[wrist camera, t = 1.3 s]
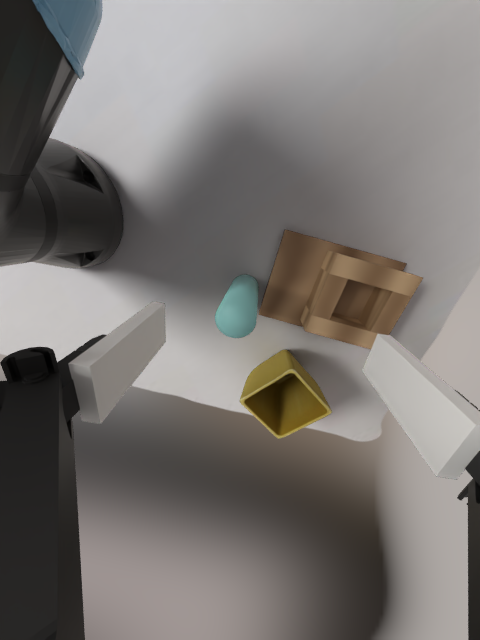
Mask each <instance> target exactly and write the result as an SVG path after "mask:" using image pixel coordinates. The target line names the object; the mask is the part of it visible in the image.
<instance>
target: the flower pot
mask: <svg viewBox="0 0 480 640" xmlns="http://www.w3.org/2000/svg"><path fill="white" fill-rule="evenodd" d="M287 374H288V375H287ZM240 403H241V404H242V405H243V406H244V407H245V408H246V409H247V410H248V411H249V412H250V413H251V414H253V415H254V416H255V417H256V418H257V419H258V420H259V421H260V422H261V423H262V424H263V425H264V426H265V427H266V428H267V429H268V430H269V431H270V432H271V433H272V434H273V435H274V436H276V437H277V438H278V439H280V438H283V437H285V436H287V435H290V434H292V433H294V432H296V431H298V430H300V429H302V428H304V427H306V426H308V425H310V424H312V423H314V422H316V421H318V420H320V419H322V418H324V417H326V416H328V415H329V414H331V413H332V411H331V409H330V407H329V405H328V403H327V401H326V399H325V397H324V395H323V393H322V391H321V390H320V388H319V386H318V384H317V383H316V382H315V380H314V379H313V378H312V377H311V376H310V375H309V374H308V373H307V372H306V370H305V369H304V368H303V367H302V366H301V365H300V364H299V363H298V361H297V360H296V359H295V358H294V357H293V356H292V354H291V353H290V352H289V351H288V350H282V351H280V352H278V353H277V354H275V355H274V356H272V357H271V358H269V359H268V360H266V361H265V362H263V363H262V364H260V365H259V366H257V367H256V368H255V369H254V370H253V371H252V372H251V373H250V375H249V376H248V378H247V380H246V383H245V386H244V389H243V392H242V395H241V398H240Z"/></svg>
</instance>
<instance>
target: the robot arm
mask: <svg viewBox="0 0 480 640" xmlns="http://www.w3.org/2000/svg"><path fill="white" fill-rule="evenodd" d="M101 17H102V0H0V266H7V265H14V264H20V263H27V262H36V263H42V264H48V265H53V266H59V267H65V268H84V267H89V266H93V265H97V264H100V263H102V262H104V261H105V260H107V259H108V258H109V257H110V256H111V255H112V254H113V253H114V252H115V250H116V249H117V247H118V245H119V242H120V240H121V236H122V230H123V215H122V209H121V204H120V201H119V198H118V195H117V193H116V190H115V188H114V186H113V184H112V182H111V181H110V179H109V178H108V176H107V175H106V173H105V172H104V171H103V169H102V168H101V167H100V166H99V165H98V164H97V163H96V162H95V161H94V160H93V159H92V158H91V157H89V156H88V155H87V154H85V153H84V152H82V151H81V150H79V149H77V148H75V147H72V146H70V145H68V144H65V143H63V142H61V141H58V140H55V139H52V138H49V136H50V134H51V132H52V130H53V128H54V126H55V124H56V122H57V120H58V118H59V115H60V113H61V111H62V109H63V107H64V105H65V103H66V101H67V99H68V97H69V95H70V93H71V90H72V88H73V86H74V84H75V82H76V80H77V78H79V79H80V80H81V79H82V77H83V76H84V71H83V65H84V63H85V60H86V58H87V55H88V53H89V50H90V48H91V45H92V43H93V40H94V37H95V35H96V32H97V30H98V27H99V25H100V22H101ZM165 342H166V335H165V303H159V302H152V303H150V304H149V305H147V306H146V307H145V308H143V309H142V310H141V311H139V312H138V313H137V314H135V315H134V316H132V317H131V318H130V319H128V320H127V321H126V322H124V323H123V324H122V325H120V326H119V327H117V328H116V329H115V330H113V331H112V332H111V333H109V334H108V335H101V336H98V337H95V338H93V339H91V340H89V341H88V342H87V343H85V344H84V345H83V346H81V347H79V348H78V349H76V351H73V352H72V353H71V354H69V355H68V356H66V357H65V358H63V359H62V360H60V361H59V362H58V363H57V361H56V357H55V353H54V351H53V349H50V348H48V347H34V348H28V349H23V350H20V351H17V352H14V353H12V354H10V355H8V356H7V357H5V358H4V359H3V360H2V361H1V366H2V368H3V371H4V374H5V376H6V378H7V381H0V640H85V635H84V616H83V599H82V598H83V597H82V580H81V561H80V542H79V524H78V506H77V487H76V470H75V453H74V452H75V451H74V432H73V422H72V417H73V416H74V415H75V414H76V413H77V412H78V411H80V415H81V419H82V421H86V422H92V423H99V424H101V423H102V421H103V420H104V419H105V418H106V417H107V415H108V414H109V413H110V412H111V410H112V409H113V408H114V406H115V405H116V404H117V403H118V401H119V400H120V399H121V398H122V396H123V395H124V394H125V393H126V391H127V390H128V389H129V388H130V386H131V385H132V384H133V382H134V381H135V380H136V379H137V377H138V376H139V375H140V374H141V372H142V371H143V370H144V369H145V367H146V366H147V365H148V364H149V362H150V361H151V360H152V358H153V357H154V356H155V355H156V353H157V352H158V351H159V350H160V348H161V347H162V346H163V345H164V343H165ZM362 371H363V373H364V374H365V376H366V377H367V378H368V380H369V381H370V383H371V384H372V386H373V387H374V388H375V390H376V391H377V393H378V394H379V396H380V397H381V399H382V400H383V401H384V403H385V404H386V406H387V407H388V409H389V410H390V411H391V413H392V414H393V416H394V417H395V419H396V420H397V421H398V423H399V424H400V426H401V427H402V428H403V430H404V431H405V433H406V434H407V436H408V437H409V439H410V440H411V441H412V443H413V444H414V446H415V447H416V449H417V450H418V451H419V453H420V454H421V456H422V457H423V458H424V460H425V461H426V463H427V464H428V466H429V467H430V469H431V470H432V471H433V473H434V474H435V476H436V477H443V478H449V479H455V480H457V478H458V477H459V476H460V475H461V474H462V472H463V471H464V470H465V469H466V470H467V471H468V473H469V474H470V475H471V476H472V477H473V479H472V480H471V482H470V483H469V484H468V485H467V486H466V487H465V488H464V489H463V490H462V492H461V493H460V494H459V495H458V497H457V498H458V499H459V500H462V499H463V498H464V497H468V503H467V505H468V612H469V613H468V628H469V629H468V630H469V631H468V633H469V640H480V410H478V408H477V407H476V406H474V405H473V404H472V403H469V401H468V400H467V399H466V398H465V397H464V396H462V395H461V394H460V393H459V392H457V391H456V390H454V389H453V388H451V387H450V386H449V385H448V384H447V383H446V382H444V381H443V380H442V379H441V378H440V377H439V376H437V375H436V374H435V373H434V372H433V371H432V370H430V369H429V368H428V367H427V366H426V365H424V364H423V363H422V362H421V361H420V360H419V359H417V358H416V357H415V356H414V355H413V354H412V353H410V352H409V351H408V350H407V349H406V348H405V347H403V346H402V345H401V344H400V343H399V342H398V341H396V340H395V339H394V338H393V337H392V336H391V335H384V334H377V336H376V339H375V341H374V343H373V346H372V348H371V351H370V353H369V355H368V358H367V360H366V362H365V365H364V367H363V370H362Z"/></svg>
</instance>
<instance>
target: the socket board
mask: <svg viewBox="0 0 480 640" xmlns="http://www.w3.org/2000/svg"><path fill="white" fill-rule="evenodd" d="M405 266H406V263H403V262H399V261H396V260H392V259H389V258H385V257H381V256H378V255H374V254H371V253H367V252H364V251H360V250H357V249H353V248H350V247H346V246H342V245H339V244H335V243H332V242H328V241H325V240H321V239H318V238H314V237H310V236H307V235H303V234H300V233H296V232H293V231H289V230H286V229H285V231H284V234H283V237H282V240H281V243H280V247H279V250H278V253H277V256H276V259H275V262H274V266H273V269H272V272H271V275H270V278H269V281H268V285H267V288H266V291H265V294H264V297H263V301H262V304H261V307H260V310H259V315H262V316H266V317H269V318H273V319H277V320H280V321H284V322H288V323H291V324H295V325H298V326H302V327H304V330H305V331H306V332H310V333H314V334H317V335H321V336H324V337H328V338H332V339H335V340H339V341H342V342H346V343H350V344H353V345H357V346H361V347H364V348H368V349H371V348H372V346H373V343H374V341H375V339H376V336H377V334H384V335H389V334H390V332H391V331H392V329H393V327H394V326H395V324H396V322H397V321H398V319H399V317H400V316H401V314H402V312H403V311H404V309H405V307H406V306H407V304H408V302H409V301H410V299H411V297H412V296H413V294H414V292H415V291H416V289H417V287H418V286H419V284H420V282H421V281H422V279H423V278H422V277H419V276H416V275H413V274H410V273H406V272H403V270H404V268H405Z"/></svg>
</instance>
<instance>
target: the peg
mask: <svg viewBox="0 0 480 640" xmlns="http://www.w3.org/2000/svg"><path fill="white" fill-rule="evenodd" d="M258 290H259V286H258V283H257V281H256V280H255V278H253V277H252V276H250V275H240V276H238V277H236V278H235V279H234V281H233V282H232V284H231V286H230V288H229V289H228V291H227V293H226V295H225V297H224V298H223V300H222V302H221V304H220V305H219V307H218V309H217V311H216V314H215V322H216V325H217V327H218V329H219V330H220V331H221V332H222V333H223V334H225V335H226V336H229V337H232V338H241V337H245V336H247V335H248V334H250V333H251V332H252V331H253V329H254V328H255V325H256V318H257V304H258Z"/></svg>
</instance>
